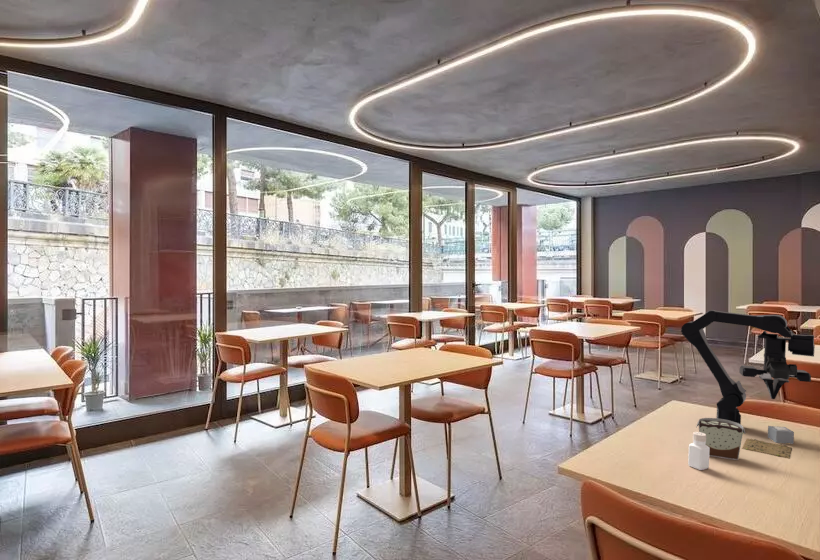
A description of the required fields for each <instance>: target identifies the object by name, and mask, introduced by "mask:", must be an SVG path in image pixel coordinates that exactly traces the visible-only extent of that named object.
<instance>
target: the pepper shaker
mask: <svg viewBox="0 0 820 560" xmlns="http://www.w3.org/2000/svg"><path fill="white" fill-rule="evenodd" d="M709 451H710V448H709V447H708V446H707V445H706V434H704V433H701V432H699V431H694V432H692V442H691V443H689V444H688V452H687V453H688V456H687V459H688V461H687V462H688V463H687V464H688V465H687V466H688V467H692V468H694V469H696V470H699V471H703V470H707V469H708V468H710V467H709V466H710V456H709Z"/></svg>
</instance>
